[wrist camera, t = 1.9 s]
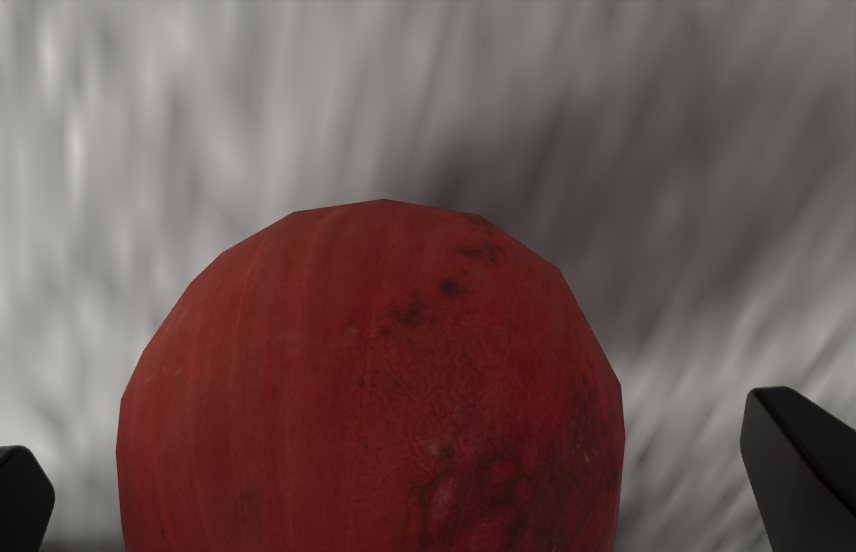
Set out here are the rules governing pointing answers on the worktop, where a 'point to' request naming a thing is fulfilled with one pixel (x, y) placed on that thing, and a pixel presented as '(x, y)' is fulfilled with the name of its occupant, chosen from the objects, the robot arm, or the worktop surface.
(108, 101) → the worktop surface
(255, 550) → the onion
